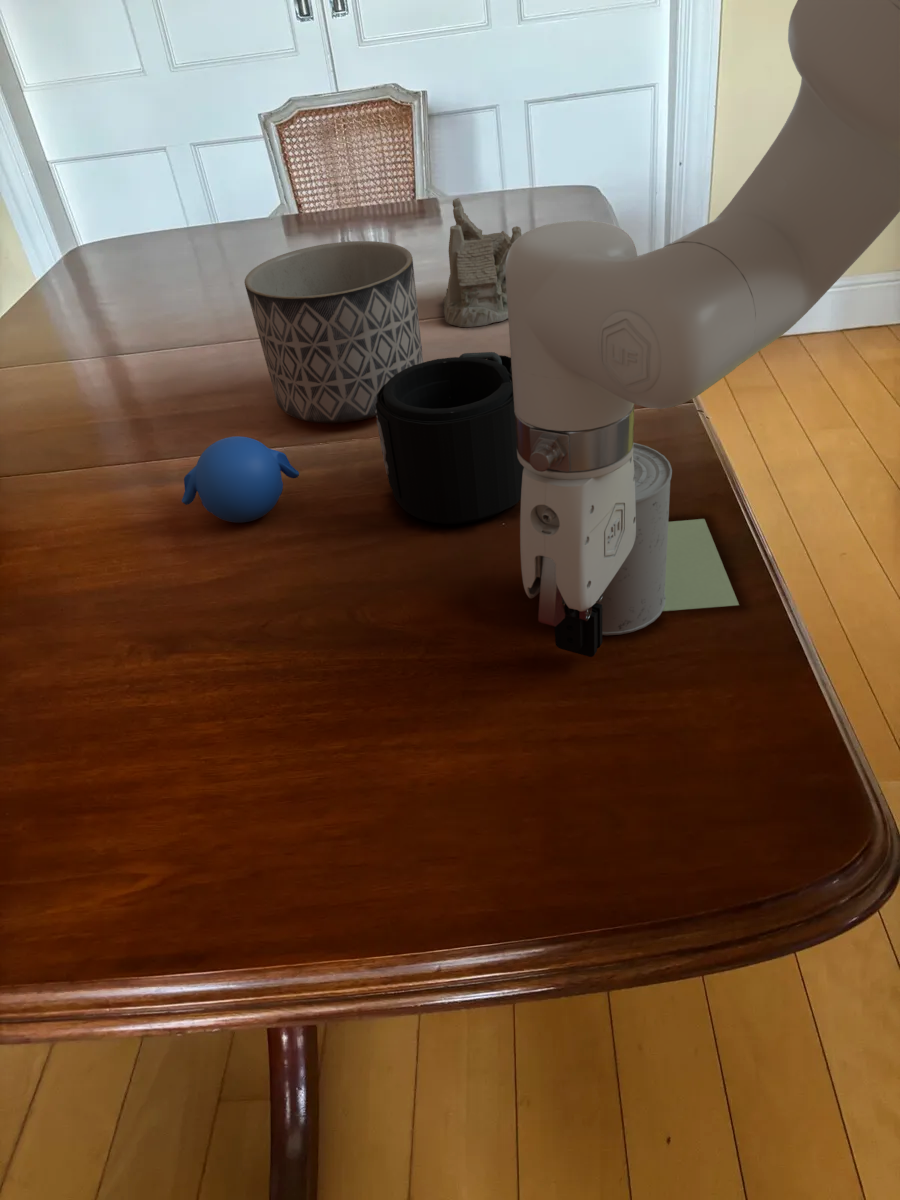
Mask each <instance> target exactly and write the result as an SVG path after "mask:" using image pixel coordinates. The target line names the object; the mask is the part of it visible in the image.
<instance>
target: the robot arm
mask: <svg viewBox="0 0 900 1200" xmlns="http://www.w3.org/2000/svg"><path fill="white" fill-rule="evenodd" d="M787 43H788V47H789V52H790V55H791V60H792V62H793V64H794V66H795V69H796V70H797V72H798V74H799V76H800V77H801V80H800V85H799V90H798V94H797V97H796V99H795V102H794V105H793V107H792V109H791V110H790V112H789V115H788V117H787V119H786V121H785V123H784V124H783V126H782V128H781V130H780V131H779V133H778V135H777V136H776V138H775V139H774V141H773V142H772V144H771V145H770V146H769V148H768V150H767V151H766V152H765V154H764V155H763V157H762V158H761V160H760V161H759V162H758V164H757V165H756V167H754V170H753V171H752V173H751V174H750V175H749V176H748V178H747V179H746V181H745V182H744V183H743V184H742V186H741V187H740V188H739V189H738V191H737V192H736V193H735V195H734V196H733V197H732V199H731V200H730V202H728V204H727V205H726V206H725V208H724V209H723V210H722V211H721V212H720V214H718V216H716V217H715V218H714V220H712V221H711V222H709V223H706V224H704V225H703V226H700V227H698V228H695V229H694V230H693V231H691V232H689V233H687V234H685V235H683V236H681V237H680V238H677V239H676V240H674V241H672V242H670V243H668V244H665V245H664V246H663V247H661V248H657V249H654V250H651V251H648V252H645V253H643V254H640V255H639V254H638V251H637V247H636V243H635V242H634V240H633V238H632V237H631V235H630V234H629V233H628V232H627V231H625V230H624V229H623V228H621V227H619V226H618V225H615V224H612V223H607V222H603V221H598V220H583V219H582V220H565V221H559V222H552V223H548V224H544V225H541V226H537V227H535V228H532V229H529V230H527V231H526V232H524V233H521V234H522V235H521V236H520V237H519V238H518V239H517V240H515V241H514V242H513V244H512V246H511V247H510V249H509V251H508V254H507V257H506V264H505V270H506V291H507V306H508V318H507V320H508V334H509V348H510V349H509V350H510V358H511V367H512V381H513V396H514V413H515V428H516V443H517V457H518V460H519V462H520V463H521V464H522V465H523V467H524V469H523V474H522V488H521V499H520V510H519V512H520V513H519V514H520V515H519V546H520V549H519V550H520V551H519V552H520V569H521V579H522V584H523V585H522V586H523V589H524V592H525V594H526V596H527V597H528V598H529V599H533V598H535V597H537V596H538V595H539V599H538V600H539V601H538V613H537V621H538V623H541V624H544V625H547V626H552V627H554V643H555V646H556V648H558V649H561V650H564V651H567V652H571V653H575V654H578V655H582V656H585V657H589V658H593V657H594V656H595V655H596V653H597V652H598V649H599V648H600V647H601V645H602V644H603V635H602V604H598V603H596V602H601V600H602V598H603V596H604V591H605V589H606V588H607V586H608V585H609V583H610V582H611V580H612V579H613V578H614V576H615V575H616V573H617V572H618V570H619V569H620V567H621V566H622V564H623V562H624V561H625V559H626V558H627V556H628V555H629V553H630V551H631V549H632V547H633V545H634V542H635V538H636V503H635V475H634V461H633V446H634V443H635V442H634V440H635V439H634V438H635V437H634V436H635V405H637V406H640V407H644V408H647V409H658V410H659V409H660V410H661V409H663V410H664V409H669V408H675V407H678V406H680V405H683V404H686V403H687V402H690V401H691V400H693V399H695V398H697V397H698V396H700V395H701V394H702V393H704V392H705V391H707V390H708V389H710V388H711V387H712V386H715V384H717V383H718V382H719V381H721V380H722V379H724V377H726V376H728V375H729V374H730V373H732V372H734V370H736V369H737V368H738V367H739V366H740V365H743V363H745V362H746V361H747V360H749V359H751V358H752V357H753V356H755V355H756V354H758V352H760V351H762V350H763V349H764V348H766V347H768V346H769V345H771V344H773V342H775V341H776V340H778V339H779V338H781V337H782V336H783V335H785V333H787V332H789V330H790V329H791V328H793V327H794V326H795V325H796V324H797V323H798V322H799V321H801V319H802V318H803V317H804V316H805V315H806V314H807V313H808V312H809V311H810V310H811V309H812V308H813V307H814V306H815V305H816V304H817V303H818V302H819V301H820V300H821V299H822V297H824V295H826V293H827V292H828V291H830V289H831V288H832V287H833V286H834V284H836V283H837V282H838V280H839V279H840V278H841V277H842V276H843V275H844V274H845V273H846V272H847V271H848V270H849V269H850V268H851V267H852V265H854V263H855V262H857V260H858V259H859V258H861V256H862V255H863V254H864V253H865V251H867V249H868V248H869V247H870V246H871V245H872V244H873V243H874V242H875V241H876V240H877V239H878V237H880V235H881V234H882V233H883V232H884V231H885V229H887V228H888V226H889V225H890V224H891V223H892V221H893V220H894V219H895V218H896V217H897V216H898V214H899V213H900V0H796V3H795V5H794V7H793V9H792V11H791V15H790V18H789V21H788V29H787Z"/></svg>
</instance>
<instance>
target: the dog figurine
mask: <svg viewBox="0 0 900 1200" xmlns="http://www.w3.org/2000/svg"><path fill="white" fill-rule="evenodd" d="M282 473H283V474H284V475H285V476H286V477H288V478H290V479H299V476H300V472H299V470H297V469H296V468H295V467H294V466H293V465H292V464H291V462H290V461H289V458H288V456H287V455H286V454H285V453H284V452H282V451H280V450H276V449H273V448H270V447H267V445H265V444H264V443H262V442H261V441H259V440H257V439H254V438H252V437H248V436H242V435H241V436H238V435H237V436H236V435H235V436H229V437H228V436H227V437H224V438H221V439H219V440H216V441H215V442H213V443H212V444H210V445H209V446H208V447H207V448H205V449H204V451H202V453H201V455H199V458H198V459H197V461H196V464H195V466H194V467H193V468H192V469H190V470H189V471H188V472H187V474H185V476H184V477H183V483H184V492H183V496H182V498H181V503H182V504H184V506H188V505H191V504H192V503H193V502H194V501H195V499H196V496H197V493H198V497H199V498H200V501H201V504H202V506H203V508H204V509H205V510H206V511H207V512H208V513H211V514H212V515H213V516H214V517H216V518H218V519H220V520H222V521H225V522H229V523H235V524H236V523H237V524H242V523H249V522H254V521H256V520H259V519H260V518H263V517H264V516H266V515H267V514H268V513H270V512H271V511H272V510H273V509H274V507H276V505H277V503H278V501H279V499H280V497H281V495H282V493H283V489H284V483H283V477H282Z"/></svg>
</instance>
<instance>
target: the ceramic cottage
mask: <svg viewBox="0 0 900 1200" xmlns="http://www.w3.org/2000/svg"><path fill="white" fill-rule="evenodd" d="M452 207H453V209H452V213H453V218H454V221H455V225H451V226H450V228H449V239H448V261H449V263H448V264H449V276H448V283H447V288H446V293H445V296H444V297H443V298H442V300H443V304H444V305H443V312H444V314H443V316H444V321H445V322H446V323H447V324H449V325H451V326H455V327H459V328H461V327H462V328H473V327H482V326H486V325H491V324H492V323H493V324H494V323H498V322H503V321H505V320H508V306H507V291H506V270H505V264H506V257H507V254H508V251H509V249H510V247H511V246H512V244H513V242H514V241H515V240H517V239H518V238H519V237H520V236H521V235H522V234H523V233H522V229H521V227H520V226H518V225H516V226H513V227H512V228H511V233H512V234H511V236H509V234H507V233H506V231H504V230H502V231H500V232H493V233H489V234H483V230H482V229H481V228H478V227H477V226H476V224H475V223H474V222H472V221H471V220H470V219H471V218H469V216H468V215H467V213H465V209H464V206H463V204H462V200H461V199H460V197H457V198H454V199H452Z"/></svg>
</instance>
